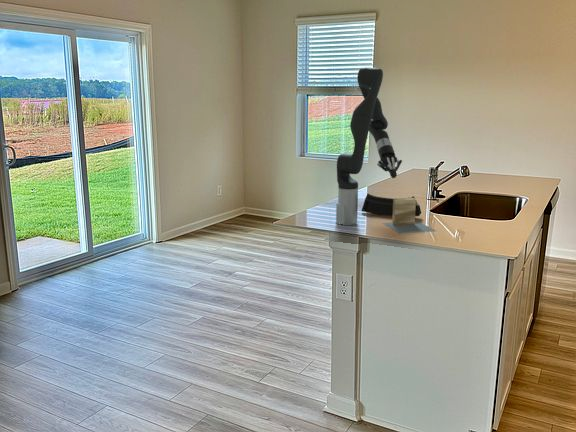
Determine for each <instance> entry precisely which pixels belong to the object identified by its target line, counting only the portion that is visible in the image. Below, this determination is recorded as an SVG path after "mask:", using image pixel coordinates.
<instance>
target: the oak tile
mask: <svg viewBox="0 0 576 432" xmlns="http://www.w3.org/2000/svg"><path fill="white" fill-rule="evenodd" d="M414 198H415V197H414ZM414 198H412V197H405V198H403V199H402V198H392V199H393V216H392V217H391V218H392V220H391V222H392V224H393V225H410V224H415V221H416V216H415V209H416V201H417V199H416V198H415V199H414Z"/></svg>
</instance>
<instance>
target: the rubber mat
mask: <svg viewBox="0 0 576 432" xmlns="http://www.w3.org/2000/svg"><path fill="white" fill-rule="evenodd" d="M382 224H383V225H384V226H386V227H388V228H389V229H391V230H392V231H395V232H396V233H397V234H413V233H415V234H416V233H428V232H437V230H436V229H434V228H431V227H430V226H428V225H426V224H424V223H422V222H420V221H418V220H415V224H410V225H393V224H392V221H391V222H382Z"/></svg>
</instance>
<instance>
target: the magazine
mask: <svg viewBox="0 0 576 432" xmlns="http://www.w3.org/2000/svg"><path fill="white" fill-rule="evenodd" d="M411 198H414V199H416V198H415V196H412V197H411ZM393 199H394V198H391V197H390V198H389V197H383V196H376V195H373V194H370V193H367V194H366V195H365V198H364V202H363V205H362V207H361V212H364V213H369V214H371V215H372V214H373V215H377V216H385V217H386V216H387V217H388V216H389V217H393ZM401 199H403V198H401ZM421 214H422V210H421V206H420V204H419V203H418V200H416V209H415V217H420V215H421Z"/></svg>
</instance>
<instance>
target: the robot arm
mask: <svg viewBox="0 0 576 432" xmlns="http://www.w3.org/2000/svg"><path fill="white" fill-rule="evenodd" d="M383 78H384V71H383V69H382V68H378V67H365V66H363V67H360V69H359V70H358V73H357V78H356V79H357V84H358V87H359V90H360V93H361V94H362V96H363V100H362V101H361V102H360V103H359V104H358V105H357V106H356V108H355V109H353V112H352V116H351V120H350V125H349V126H350V128H349V129H350V131H351V134H352V137H353V142H354V145H353V146H354V147H353V151H352V153H340V154H339V155H338V157H337V159H336V160H337V161H336V181H337V186H338V193H337V194H338V195H337V196H338V197H337V198H338V199H337V201H338V202H337V203H336V209H335V211H336V212H335V215H336V216H335V223H336V224H338V223H340V224H339V225H341V224H343V225H342V226H355V225H357V224H358V206H359V205H358V201H359V198H358V197H359V183H358V181H357V180H355V179H354V178H352V177H351V175H358V174H360V172H361V171H362V169H363V168H362V167H363V164H364V158H365V157H364V156H365V151H366V145H367V140H368V137H369V136H368V135H369V133H370V134H371V135H372V137H373V138H374V141H375V144H376V149H377V153H378V156H379V159H380V160H378V162H377V164H376V165H377V166H378V167H379V168H381V169H382V170H383V171H385V172H389V175H390V178H392V179H396V177H397V176H398V173H397V171H398V170H399V168H400V166H401V164H402V162H403V160H402V159H400V160H399V159H398V158H397V156H396V153H395V150H394V147H393V145H392V144H393V143H392V142H391V140H390V137H389V134H388V132H387V131H386V129H387V128H388V125H389V122H388V120H387V119H386V117H385V116H384V113H383V109H382V103H381V101H380V99H379V98H378V95H379V92H380V89H381V85H382V83H383Z"/></svg>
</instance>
